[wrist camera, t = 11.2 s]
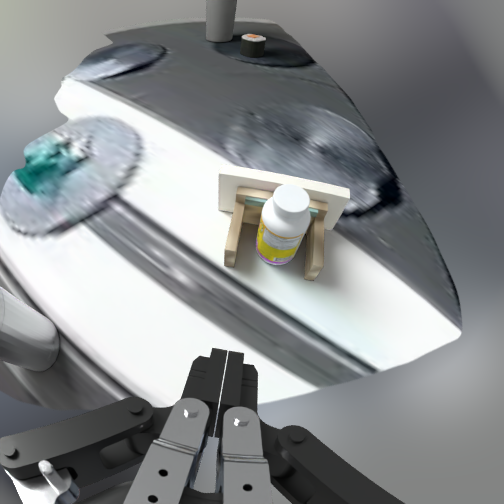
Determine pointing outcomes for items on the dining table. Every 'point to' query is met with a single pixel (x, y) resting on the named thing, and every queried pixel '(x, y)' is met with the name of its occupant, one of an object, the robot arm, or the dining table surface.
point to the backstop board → (271, 181)
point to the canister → (220, 20)
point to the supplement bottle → (283, 224)
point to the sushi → (252, 45)
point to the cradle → (250, 212)
